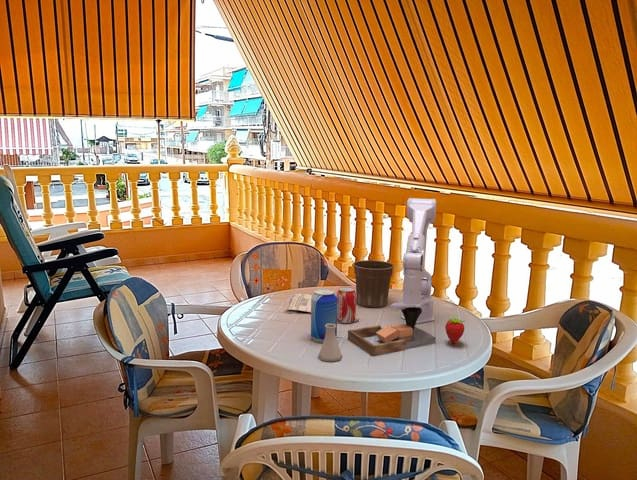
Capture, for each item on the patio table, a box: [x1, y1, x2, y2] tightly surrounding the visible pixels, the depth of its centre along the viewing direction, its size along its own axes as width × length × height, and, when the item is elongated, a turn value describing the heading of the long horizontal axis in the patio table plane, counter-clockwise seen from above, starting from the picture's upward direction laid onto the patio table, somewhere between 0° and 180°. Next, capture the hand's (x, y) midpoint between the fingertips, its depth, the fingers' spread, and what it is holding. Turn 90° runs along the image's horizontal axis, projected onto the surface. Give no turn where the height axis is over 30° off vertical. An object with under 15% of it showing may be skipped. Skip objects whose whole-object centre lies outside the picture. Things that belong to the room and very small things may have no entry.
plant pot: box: [352, 259, 395, 309], centre depth 203 cm, size 16×16×16 cm
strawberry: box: [445, 314, 466, 345], centre depth 163 cm, size 6×8×10 cm
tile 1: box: [376, 325, 399, 343], centre depth 164 cm, size 5×5×2 cm
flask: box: [317, 324, 343, 363], centre depth 151 cm, size 7×7×10 cm
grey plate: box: [381, 326, 437, 350], centre depth 167 cm, size 12×14×2 cm
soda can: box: [336, 286, 357, 324], centre depth 182 cm, size 7×7×12 cm
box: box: [347, 324, 407, 357], centre depth 162 cm, size 12×15×3 cm
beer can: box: [310, 288, 338, 344], centre depth 165 cm, size 8×8×16 cm
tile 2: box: [390, 323, 413, 338], centre depth 166 cm, size 5×5×2 cm
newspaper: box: [284, 293, 313, 314], centre depth 201 cm, size 23×12×2 cm, turn 175°
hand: (410, 329), depth 168 cm, fingers closed
